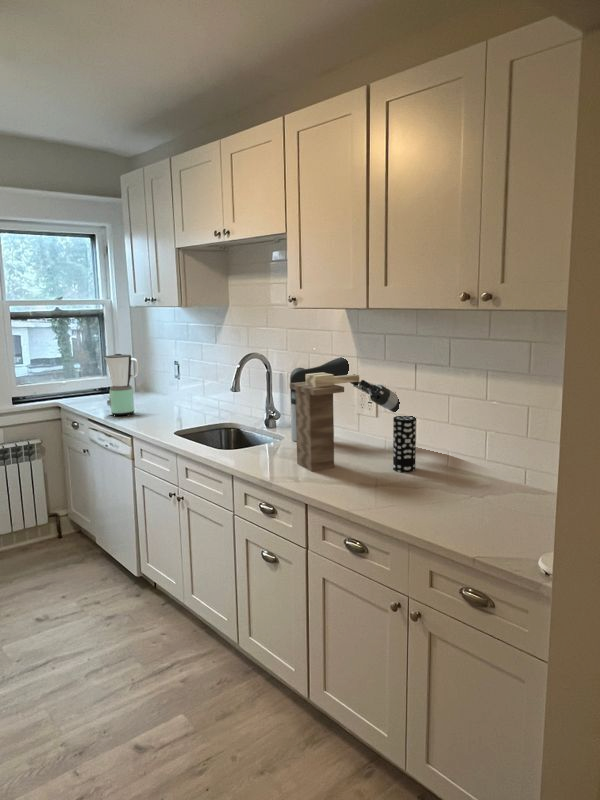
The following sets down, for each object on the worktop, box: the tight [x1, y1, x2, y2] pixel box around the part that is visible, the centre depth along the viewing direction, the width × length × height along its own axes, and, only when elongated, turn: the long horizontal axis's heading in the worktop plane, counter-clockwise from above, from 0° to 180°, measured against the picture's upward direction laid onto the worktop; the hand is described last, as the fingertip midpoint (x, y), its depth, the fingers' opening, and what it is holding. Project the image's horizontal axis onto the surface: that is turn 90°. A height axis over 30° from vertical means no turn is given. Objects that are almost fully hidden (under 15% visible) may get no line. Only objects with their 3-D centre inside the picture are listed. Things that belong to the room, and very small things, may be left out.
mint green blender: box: [103, 353, 139, 416], centre depth 343 cm, size 19×13×35 cm
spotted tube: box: [392, 415, 417, 473], centre depth 226 cm, size 8×8×20 cm
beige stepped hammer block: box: [305, 372, 360, 387], centre depth 233 cm, size 8×21×4 cm, turn 117°
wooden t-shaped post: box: [289, 382, 345, 472], centre depth 233 cm, size 20×13×32 cm, turn 27°
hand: (355, 380), depth 238 cm, fingers open, 8 cm apart
